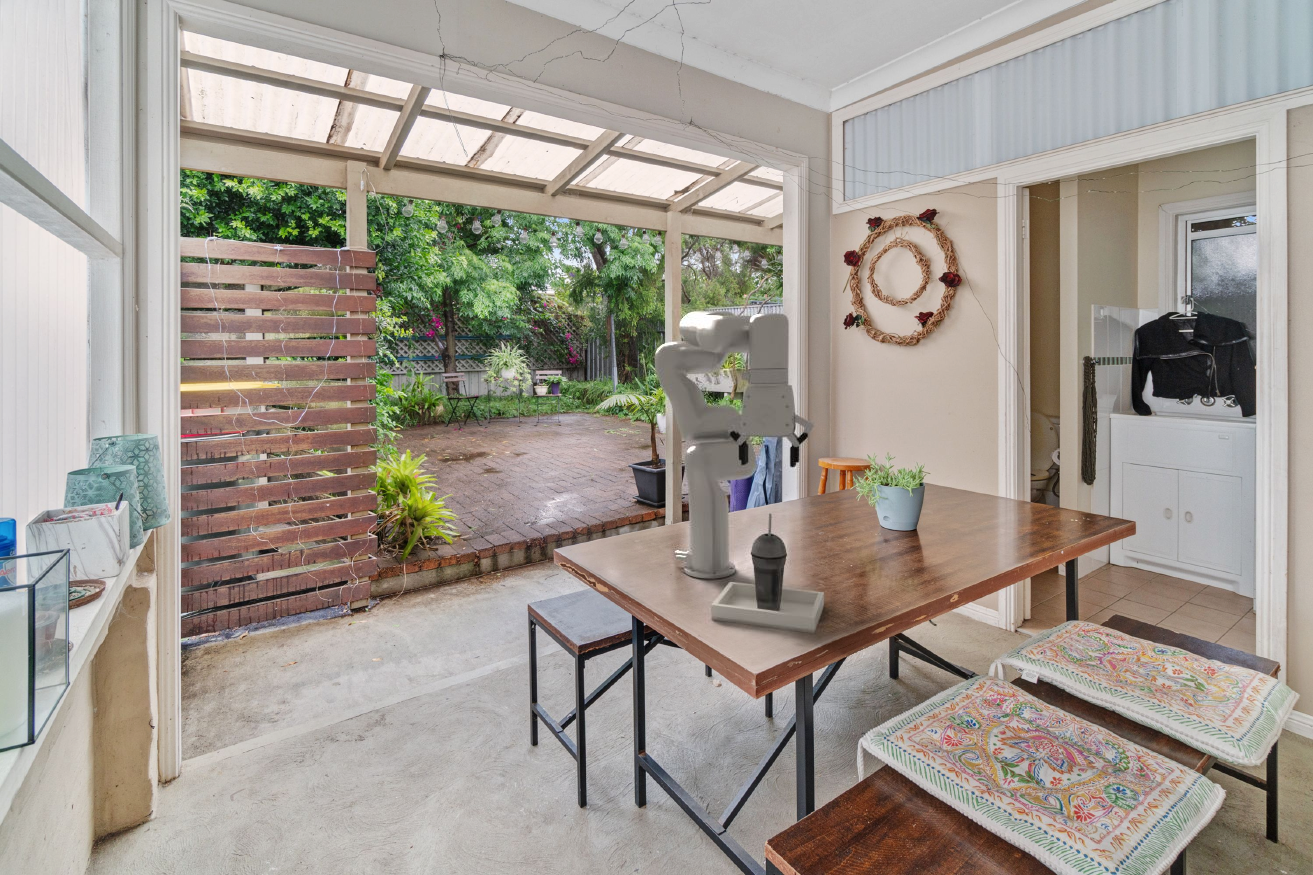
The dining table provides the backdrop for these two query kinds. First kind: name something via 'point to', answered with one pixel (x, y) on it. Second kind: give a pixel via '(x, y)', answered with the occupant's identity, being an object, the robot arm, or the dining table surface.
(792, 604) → the tray
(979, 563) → the dining table surface
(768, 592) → the beverage cup
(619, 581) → the dining table surface
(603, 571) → the dining table surface
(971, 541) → the dining table surface
